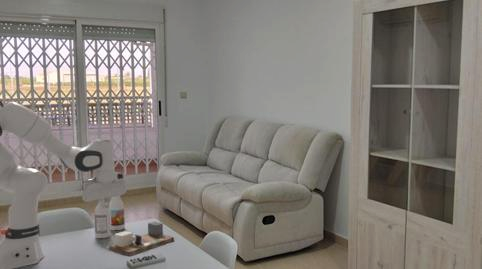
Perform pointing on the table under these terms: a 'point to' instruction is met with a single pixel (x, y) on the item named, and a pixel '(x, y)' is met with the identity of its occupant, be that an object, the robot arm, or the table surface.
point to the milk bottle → (116, 213)
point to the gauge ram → (124, 239)
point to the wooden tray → (146, 239)
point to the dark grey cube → (155, 229)
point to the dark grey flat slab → (138, 240)
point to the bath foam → (102, 222)
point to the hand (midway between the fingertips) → (105, 208)
